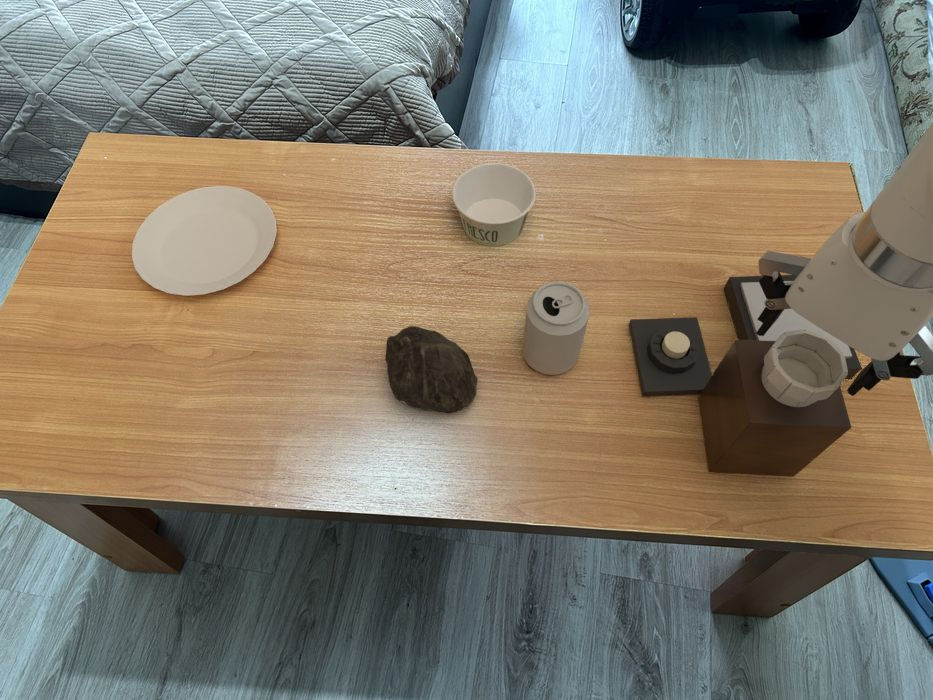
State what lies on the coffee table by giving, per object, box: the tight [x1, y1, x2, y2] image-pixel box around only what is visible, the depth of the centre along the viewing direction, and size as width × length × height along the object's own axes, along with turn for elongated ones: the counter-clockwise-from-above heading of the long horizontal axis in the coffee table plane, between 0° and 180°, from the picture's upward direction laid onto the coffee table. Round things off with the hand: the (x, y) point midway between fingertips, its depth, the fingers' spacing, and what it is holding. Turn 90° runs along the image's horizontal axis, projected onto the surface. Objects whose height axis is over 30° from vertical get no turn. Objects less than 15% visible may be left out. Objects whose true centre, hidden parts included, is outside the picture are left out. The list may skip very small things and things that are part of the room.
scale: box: [723, 274, 863, 380], centre depth 86 cm, size 15×13×3 cm
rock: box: [384, 325, 479, 415], centre depth 80 cm, size 10×11×10 cm
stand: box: [697, 339, 852, 477], centre depth 74 cm, size 10×10×14 cm
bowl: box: [761, 329, 848, 407], centre depth 66 cm, size 7×7×4 cm
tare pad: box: [628, 316, 713, 398], centre depth 84 cm, size 11×9×3 cm
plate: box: [131, 185, 278, 297], centre depth 96 cm, size 21×21×2 cm
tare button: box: [662, 332, 690, 359], centre depth 83 cm, size 3×3×2 cm
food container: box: [451, 162, 537, 247], centre depth 96 cm, size 12×12×6 cm
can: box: [521, 280, 590, 376], centre depth 81 cm, size 8×8×12 cm
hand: (809, 354), depth 64 cm, fingers open, 9 cm apart
